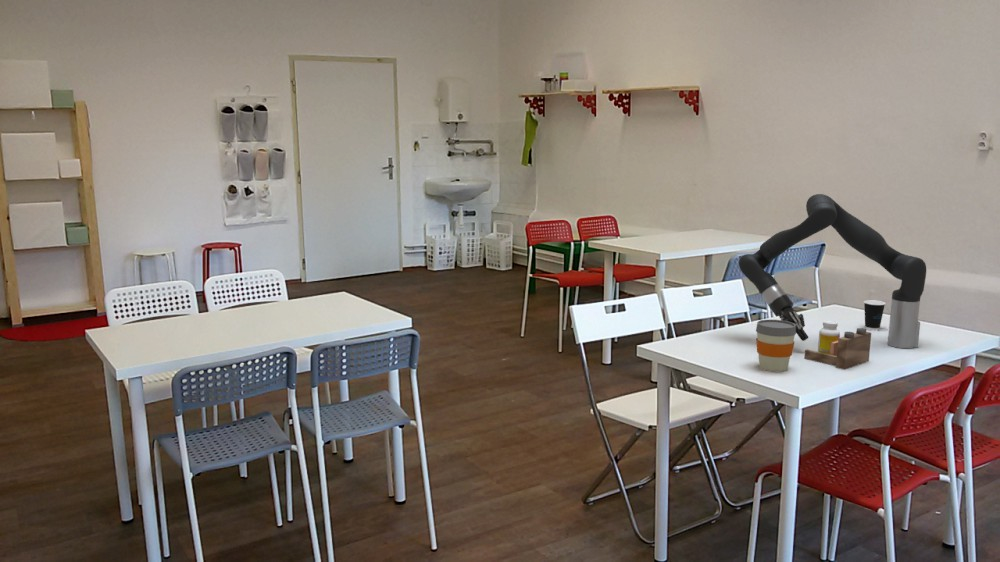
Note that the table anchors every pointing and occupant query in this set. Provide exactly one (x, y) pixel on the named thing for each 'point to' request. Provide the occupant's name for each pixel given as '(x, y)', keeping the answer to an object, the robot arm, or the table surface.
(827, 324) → the supplement bottle
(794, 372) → the table surface
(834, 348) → the plate
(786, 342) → the reusable coffee cup
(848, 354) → the cradle
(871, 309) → the dixie cup
